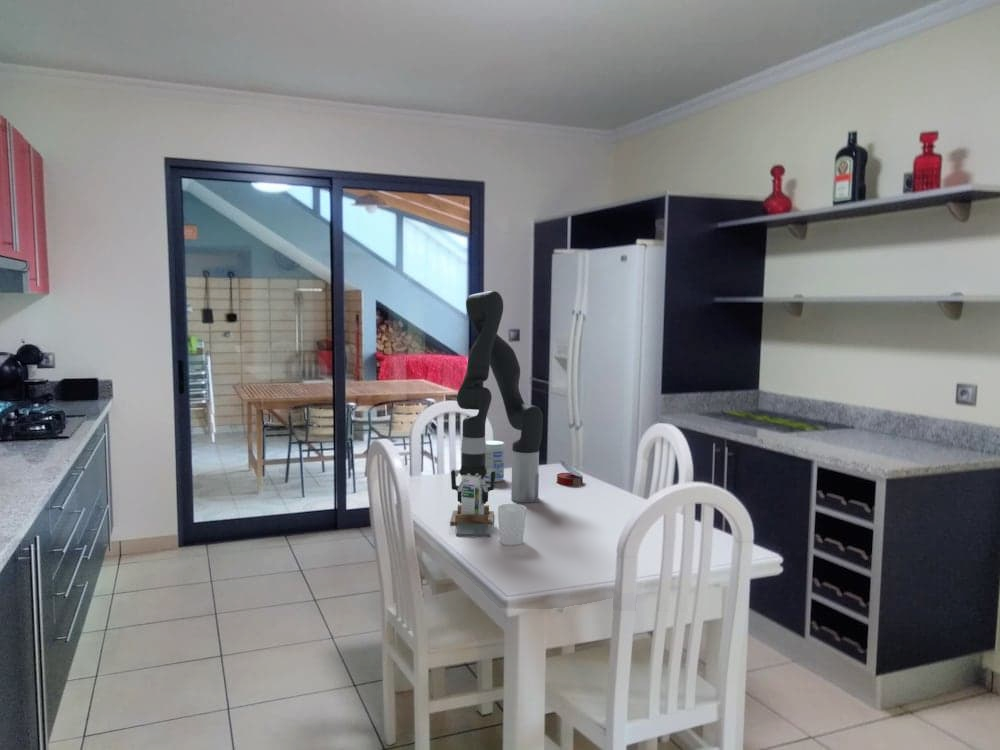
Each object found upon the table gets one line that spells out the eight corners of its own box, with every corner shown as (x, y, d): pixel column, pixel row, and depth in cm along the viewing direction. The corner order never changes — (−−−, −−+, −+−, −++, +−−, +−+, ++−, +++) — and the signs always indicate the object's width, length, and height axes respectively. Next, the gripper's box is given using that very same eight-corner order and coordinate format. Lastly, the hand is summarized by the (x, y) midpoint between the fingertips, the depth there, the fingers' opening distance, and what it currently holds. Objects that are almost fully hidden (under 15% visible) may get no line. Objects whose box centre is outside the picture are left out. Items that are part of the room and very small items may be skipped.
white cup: (498, 537, 211) (498, 503, 210) (525, 537, 210) (526, 504, 209) (497, 545, 203) (497, 510, 202) (525, 546, 202) (526, 511, 202)
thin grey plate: (491, 526, 220) (491, 523, 220) (490, 536, 210) (490, 534, 210) (458, 525, 220) (458, 523, 220) (456, 536, 211) (456, 533, 210)
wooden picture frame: (493, 514, 234) (493, 505, 233) (492, 525, 221) (493, 516, 221) (453, 513, 234) (453, 504, 233) (450, 524, 221) (450, 515, 221)
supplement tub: (497, 484, 274) (498, 445, 273) (474, 481, 278) (475, 443, 276) (507, 478, 283) (508, 441, 281) (485, 476, 287) (486, 439, 285)
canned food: (565, 491, 284) (572, 467, 287) (585, 493, 276) (591, 469, 279) (547, 481, 277) (554, 457, 280) (566, 483, 269) (573, 458, 272)
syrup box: (460, 520, 226) (460, 475, 224) (467, 515, 231) (468, 471, 230) (477, 523, 224) (478, 476, 222) (484, 518, 229) (485, 472, 228)
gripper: (496, 448, 229) (495, 500, 231) (451, 448, 229) (450, 499, 231) (496, 453, 222) (495, 506, 223) (449, 452, 222) (448, 505, 223)
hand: (472, 502), depth 227 cm, fingers closed on syrup box, 7 cm apart
